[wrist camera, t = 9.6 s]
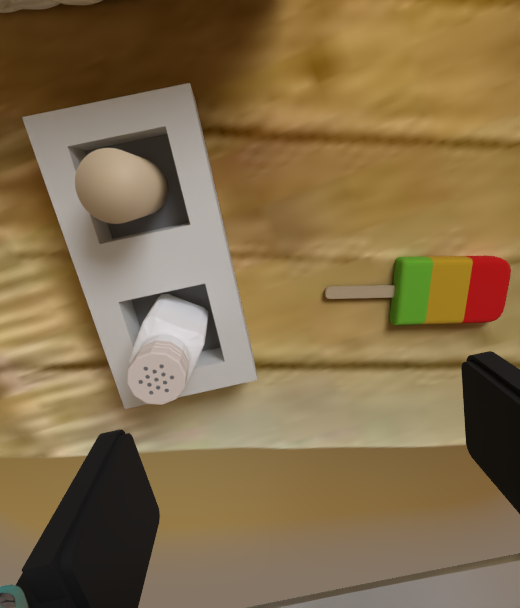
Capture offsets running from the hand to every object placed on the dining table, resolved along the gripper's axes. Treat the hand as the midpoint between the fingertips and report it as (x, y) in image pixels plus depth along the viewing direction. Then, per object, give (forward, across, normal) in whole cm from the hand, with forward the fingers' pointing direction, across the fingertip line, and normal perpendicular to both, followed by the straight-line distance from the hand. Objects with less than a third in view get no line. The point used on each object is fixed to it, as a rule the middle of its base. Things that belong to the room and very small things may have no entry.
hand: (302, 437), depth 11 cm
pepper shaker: (+20, +7, +2) cm, 21 cm away
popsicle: (+22, -12, +4) cm, 25 cm away
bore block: (+20, +7, -3) cm, 22 cm away
